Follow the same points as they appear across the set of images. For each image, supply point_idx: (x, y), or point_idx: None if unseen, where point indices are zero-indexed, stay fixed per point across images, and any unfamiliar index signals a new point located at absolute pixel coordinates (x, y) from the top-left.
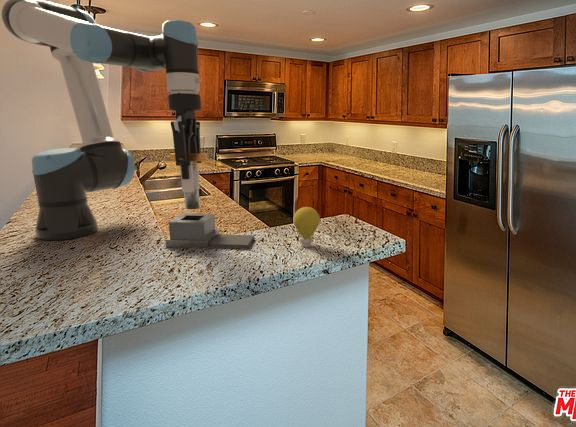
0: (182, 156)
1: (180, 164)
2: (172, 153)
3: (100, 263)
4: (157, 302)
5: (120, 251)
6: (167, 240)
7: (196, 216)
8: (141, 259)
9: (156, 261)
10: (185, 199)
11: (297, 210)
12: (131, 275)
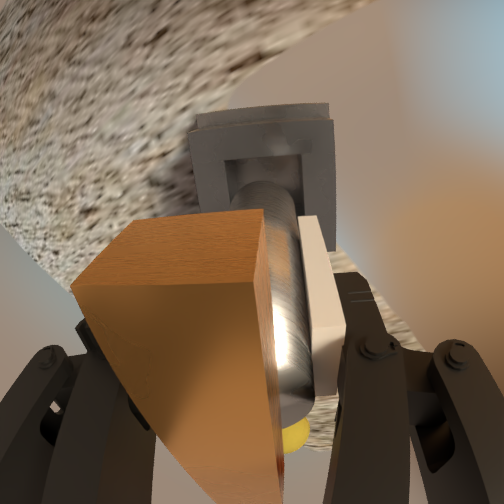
0: (45, 425)
1: (81, 359)
2: (165, 310)
3: (75, 46)
4: (22, 247)
5: (146, 20)
6: (198, 120)
7: (303, 192)
8: (111, 110)
9: (110, 152)
10: (229, 208)
11: (285, 437)
12: (49, 153)
